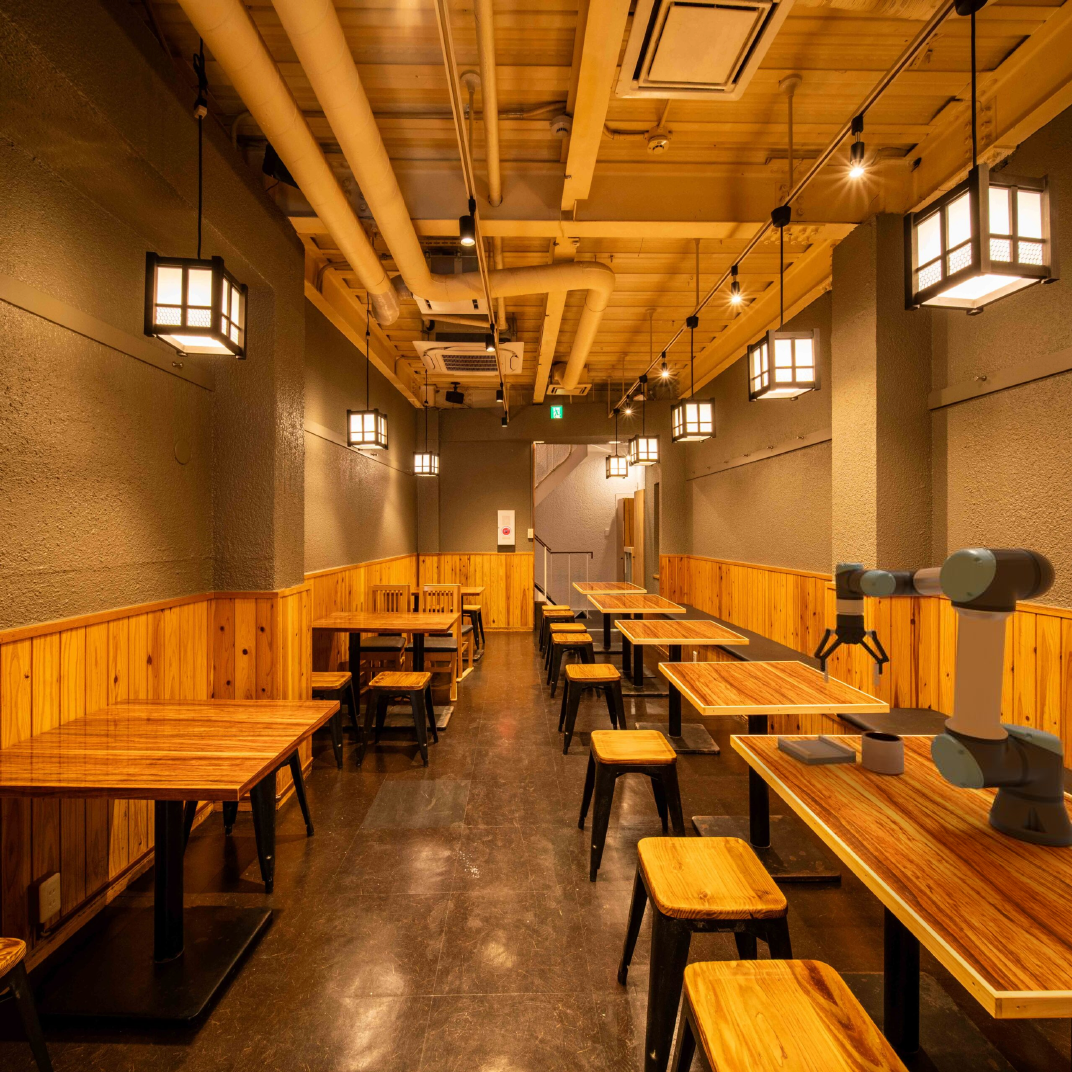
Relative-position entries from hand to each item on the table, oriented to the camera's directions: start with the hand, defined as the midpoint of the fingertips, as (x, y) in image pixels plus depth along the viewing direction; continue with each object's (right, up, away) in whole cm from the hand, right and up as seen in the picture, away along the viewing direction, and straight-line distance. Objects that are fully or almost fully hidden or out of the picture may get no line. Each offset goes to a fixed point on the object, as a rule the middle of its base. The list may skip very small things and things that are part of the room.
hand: (851, 683), depth 180 cm
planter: (+6, -24, -5) cm, 25 cm away
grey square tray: (-8, -24, +6) cm, 26 cm away
